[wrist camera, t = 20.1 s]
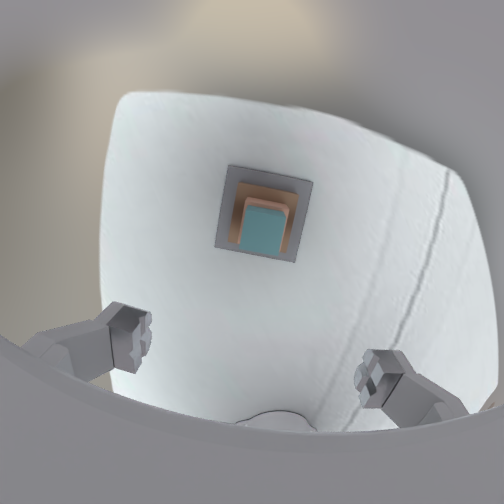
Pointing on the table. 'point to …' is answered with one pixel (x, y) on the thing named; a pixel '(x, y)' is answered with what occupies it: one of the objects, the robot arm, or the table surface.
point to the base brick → (264, 194)
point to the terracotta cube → (264, 204)
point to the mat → (268, 181)
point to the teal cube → (262, 230)
